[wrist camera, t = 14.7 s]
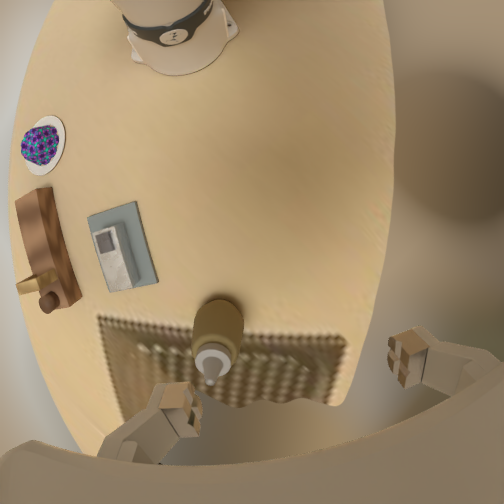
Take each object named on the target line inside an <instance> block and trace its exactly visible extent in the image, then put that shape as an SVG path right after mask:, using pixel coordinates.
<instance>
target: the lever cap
mask: <svg viewBox="0 0 504 504" xmlns="http://www.w3.org/2000/svg"><path fill="white" fill-rule="evenodd" d="M92 235H93V239H94V242H95V246H96V249H97V253H98V256H99V259H100V262H101V265H102V269H103V272H104V275H105V278H106V281H107V283H108V286H109V289H110V292H114V291H119V290H124V289H129V288H133V287H134V286H135V285H136V284H137V283H138V282H139V281H140V280H141V278H140V275H139V271H138V268H137V265H136V262H135V258H134V255H133V252H132V248H131V245H130V241H129V238H128V234H127V230H126V227H125V223H121V224H117V225H114V226H111V227H108V228H104V229H101V230H99V231H96V232H94V233H92Z"/></svg>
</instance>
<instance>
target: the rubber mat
mask: <svg viewBox="0 0 504 504" xmlns="http://www.w3.org/2000/svg"><path fill="white" fill-rule="evenodd" d="M87 220H88V224H89V228H90V231H91V235H92V233H94V232H96V231H99V230H101V229H104V228H108V227H111V226H114V225H117V224H121V223H125V227H126V230H127V234H128V238H129V241H130V245H131V248H132V252H133V255H134V258H135V262H136V265H137V268H138V271H139V275H140V278H141V280H140V281H139V282H138V283H137V284H136V285H135V286H134V287H133V288H136V287H141V286H146V285H151V284H155V283H158V282H159V281H158V278H157V275H156V271H155V268H154V265H153V262H152V258H151V255H150V251H149V248H148V244H147V241H146V237H145V233H144V230H143V226H142V222H141V218H140V214H139V210H138V206H137V202H132V203H129V204H126V205H123V206H120V207H117V208H113V209H110V210H108V211H105V212H102V213H99V214H96V215H93V216H90V217H87ZM92 239H93V235H92ZM93 242H94V239H93ZM94 246H95V242H94ZM95 249H96V246H95ZM96 253H97V249H96ZM97 256H98V253H97ZM98 259H99V256H98ZM99 262H100V259H99ZM100 266H101V269H102V265H101V262H100ZM102 272H103V269H102ZM103 275H104V272H103ZM104 278H105V275H104ZM105 281H106V278H105ZM106 283H107V281H106ZM107 286H108V283H107ZM108 289H109V286H108ZM129 289H131V288H129ZM124 290H125V289H124ZM119 291H120V290H119ZM109 292H110V289H109ZM114 292H115V291H114Z"/></svg>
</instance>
